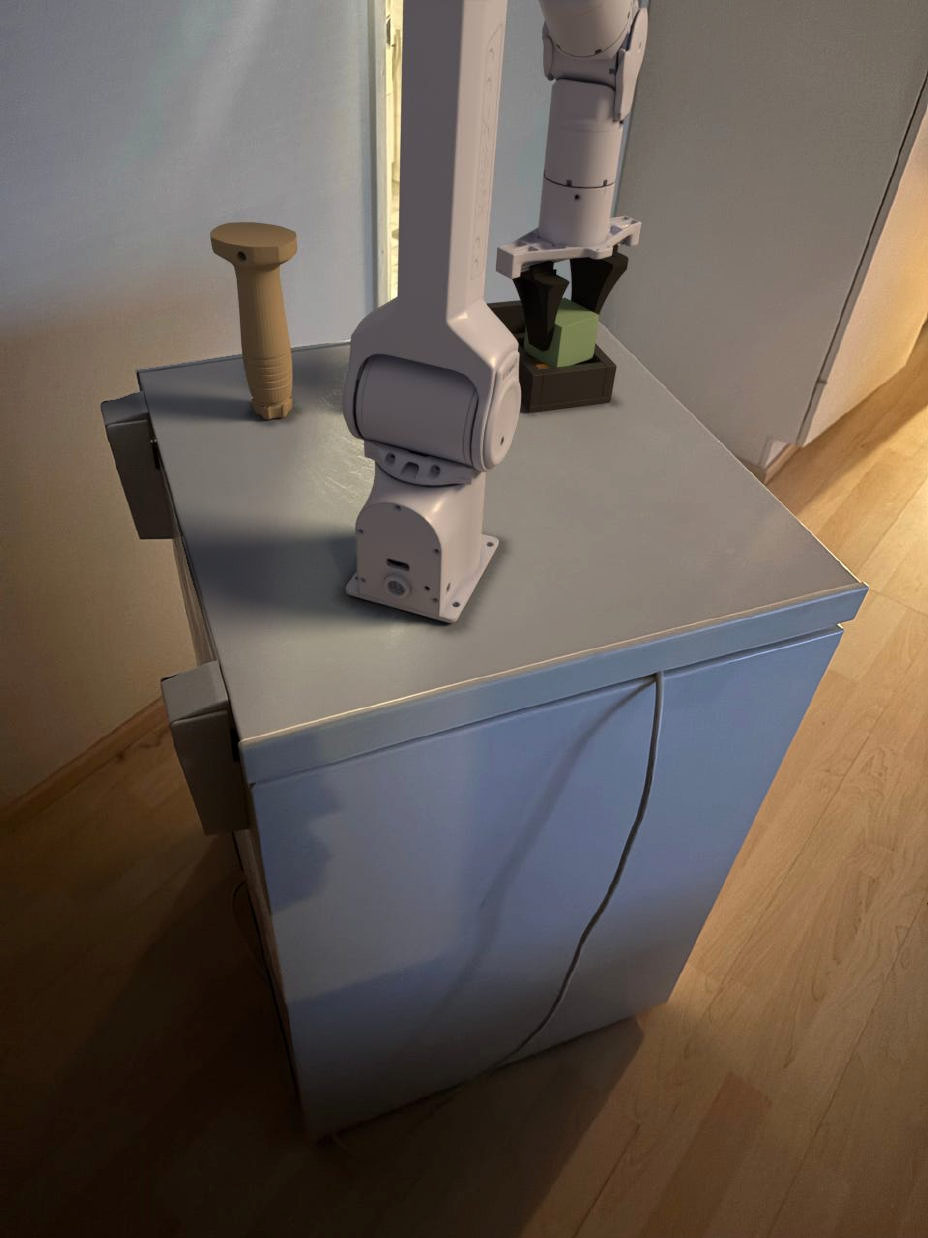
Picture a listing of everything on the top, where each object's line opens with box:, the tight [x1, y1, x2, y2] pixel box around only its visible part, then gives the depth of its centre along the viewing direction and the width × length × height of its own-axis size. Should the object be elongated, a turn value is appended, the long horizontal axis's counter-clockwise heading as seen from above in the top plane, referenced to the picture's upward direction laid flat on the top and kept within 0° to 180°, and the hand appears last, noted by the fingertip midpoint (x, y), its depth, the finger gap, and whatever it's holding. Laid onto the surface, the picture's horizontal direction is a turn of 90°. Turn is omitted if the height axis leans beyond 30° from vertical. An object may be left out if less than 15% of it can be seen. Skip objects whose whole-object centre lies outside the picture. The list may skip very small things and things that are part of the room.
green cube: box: [524, 297, 600, 368], centre depth 79 cm, size 4×4×4 cm
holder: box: [486, 299, 618, 414], centre depth 84 cm, size 8×15×4 cm, turn 18°
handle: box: [209, 221, 298, 420], centre depth 72 cm, size 5×6×15 cm
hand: (559, 339), depth 80 cm, fingers closed on green cube, 4 cm apart
